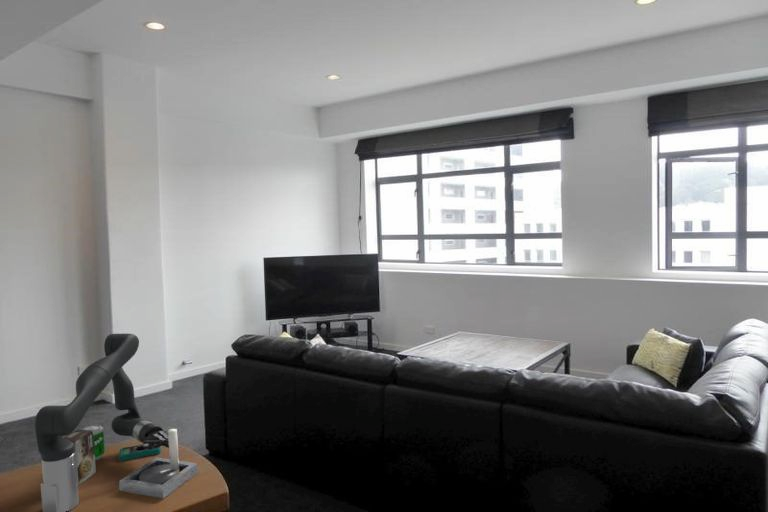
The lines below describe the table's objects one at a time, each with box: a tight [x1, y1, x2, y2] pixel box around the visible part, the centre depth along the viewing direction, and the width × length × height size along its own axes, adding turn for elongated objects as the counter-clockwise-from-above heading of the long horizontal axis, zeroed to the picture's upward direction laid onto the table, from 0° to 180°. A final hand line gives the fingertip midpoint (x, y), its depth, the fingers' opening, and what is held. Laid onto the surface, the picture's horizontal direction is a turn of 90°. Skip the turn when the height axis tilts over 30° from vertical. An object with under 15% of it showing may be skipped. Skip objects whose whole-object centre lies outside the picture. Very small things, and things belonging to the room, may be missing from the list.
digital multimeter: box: [118, 444, 162, 462], centre depth 210 cm, size 7×15×3 cm, turn 115°
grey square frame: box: [118, 457, 199, 499], centre depth 188 cm, size 18×18×4 cm
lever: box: [139, 428, 180, 485], centre depth 187 cm, size 13×13×16 cm
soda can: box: [82, 424, 106, 462], centre depth 207 cm, size 8×8×12 cm
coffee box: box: [63, 429, 97, 486], centre depth 191 cm, size 9×6×16 cm
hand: (172, 445), depth 192 cm, fingers closed
